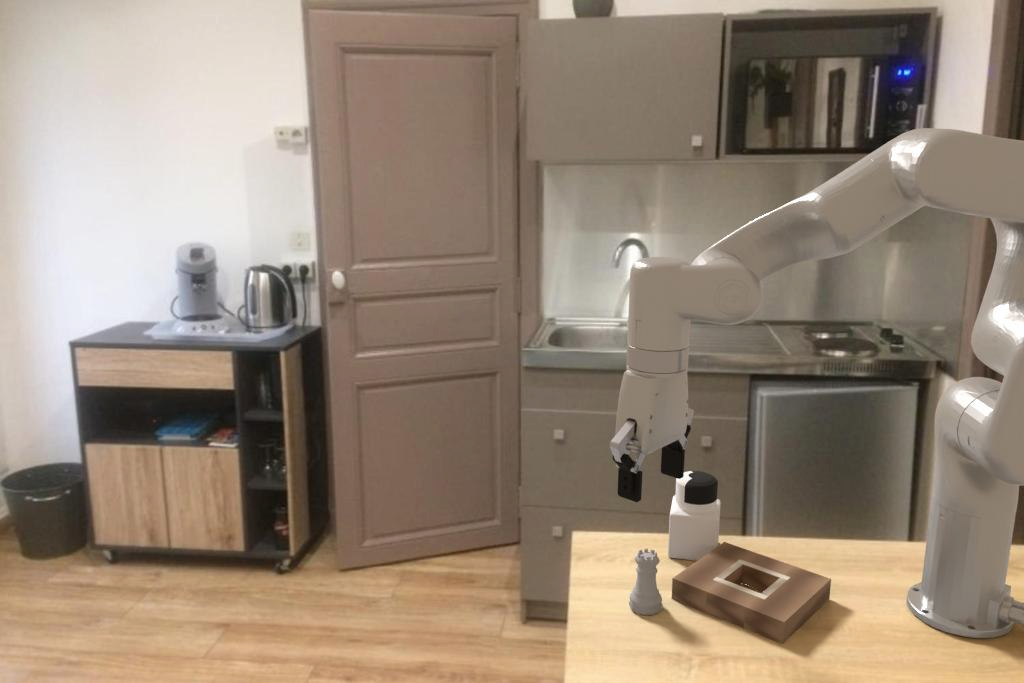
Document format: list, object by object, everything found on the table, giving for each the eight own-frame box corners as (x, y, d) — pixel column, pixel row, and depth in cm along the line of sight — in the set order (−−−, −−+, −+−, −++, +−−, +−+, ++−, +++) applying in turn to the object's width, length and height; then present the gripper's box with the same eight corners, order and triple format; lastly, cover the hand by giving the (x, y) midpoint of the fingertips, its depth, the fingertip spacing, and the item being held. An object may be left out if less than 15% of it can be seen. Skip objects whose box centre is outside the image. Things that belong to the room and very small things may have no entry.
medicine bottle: (718, 541, 135) (722, 468, 132) (717, 564, 129) (721, 487, 126) (671, 536, 137) (674, 464, 134) (667, 558, 130) (670, 483, 127)
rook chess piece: (661, 618, 115) (664, 562, 113) (627, 614, 116) (628, 559, 114) (663, 600, 119) (665, 546, 117) (629, 597, 120) (631, 543, 118)
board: (829, 598, 119) (831, 578, 118) (782, 643, 109) (784, 622, 108) (723, 560, 130) (724, 541, 129) (671, 598, 120) (672, 578, 119)
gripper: (669, 340, 117) (663, 460, 122) (590, 366, 105) (586, 499, 109) (719, 350, 113) (711, 475, 117) (643, 379, 100) (637, 517, 104)
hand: (651, 486), depth 113 cm, fingers open, 9 cm apart
